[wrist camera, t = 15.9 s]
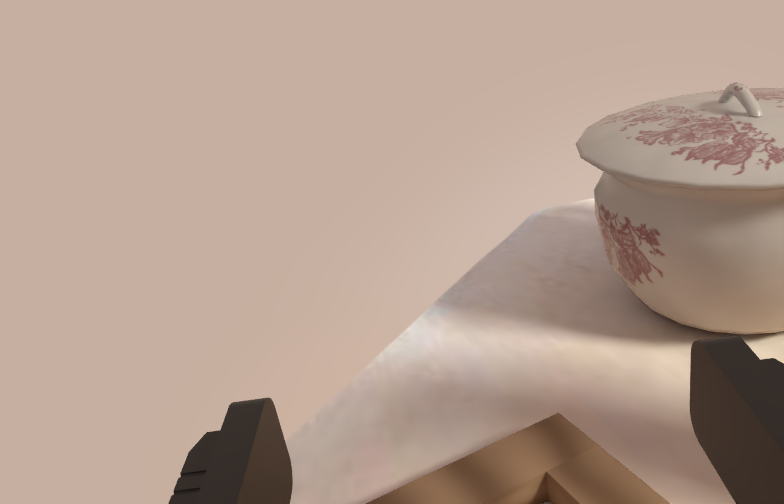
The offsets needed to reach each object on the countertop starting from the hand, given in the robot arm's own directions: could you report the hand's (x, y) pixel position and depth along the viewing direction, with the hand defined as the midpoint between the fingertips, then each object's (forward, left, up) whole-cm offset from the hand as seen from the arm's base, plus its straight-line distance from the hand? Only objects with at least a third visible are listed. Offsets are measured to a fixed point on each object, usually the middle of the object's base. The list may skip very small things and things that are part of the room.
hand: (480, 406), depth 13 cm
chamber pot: (-45, -32, -28) cm, 62 cm away
